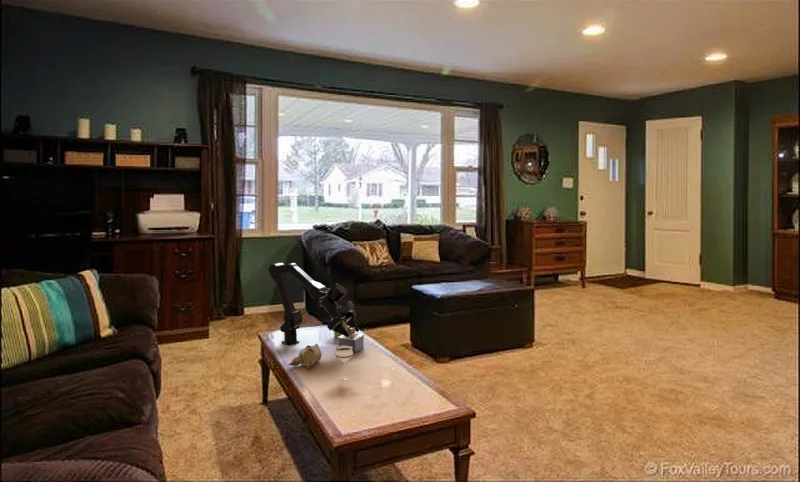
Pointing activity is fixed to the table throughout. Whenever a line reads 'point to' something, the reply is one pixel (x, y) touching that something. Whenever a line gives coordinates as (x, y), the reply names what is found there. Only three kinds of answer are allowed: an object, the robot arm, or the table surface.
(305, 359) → the ceramic sculpture
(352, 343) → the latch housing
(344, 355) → the wineglass
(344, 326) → the plant pot
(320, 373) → the table surface
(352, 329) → the bronze domed cylinder
